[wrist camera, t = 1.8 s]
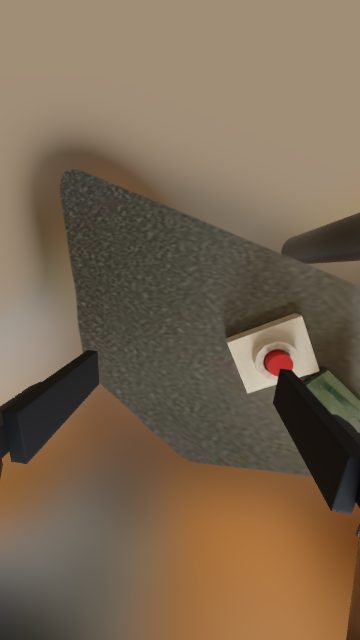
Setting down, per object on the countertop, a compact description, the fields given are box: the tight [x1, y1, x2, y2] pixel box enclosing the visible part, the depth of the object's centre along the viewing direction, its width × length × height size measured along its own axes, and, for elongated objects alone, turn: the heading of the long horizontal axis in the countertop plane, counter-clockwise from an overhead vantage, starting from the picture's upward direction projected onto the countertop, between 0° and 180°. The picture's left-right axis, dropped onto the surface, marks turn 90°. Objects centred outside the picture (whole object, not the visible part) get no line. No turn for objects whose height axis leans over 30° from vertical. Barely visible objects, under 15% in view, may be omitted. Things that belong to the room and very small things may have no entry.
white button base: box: [226, 313, 319, 393], centre depth 33 cm, size 12×10×4 cm
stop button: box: [265, 350, 293, 377], centre depth 30 cm, size 4×4×2 cm
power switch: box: [303, 367, 360, 421], centre depth 29 cm, size 10×8×13 cm
